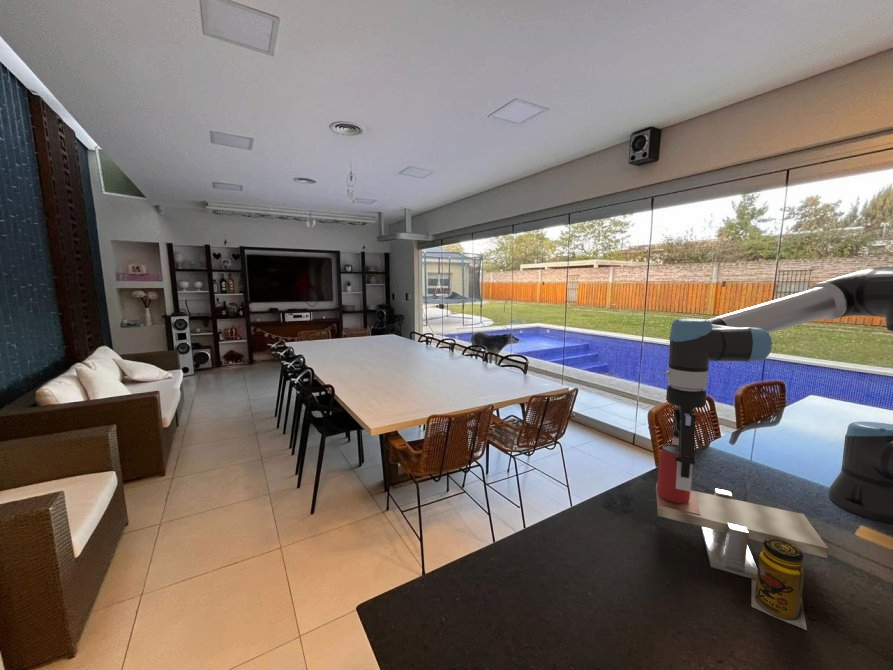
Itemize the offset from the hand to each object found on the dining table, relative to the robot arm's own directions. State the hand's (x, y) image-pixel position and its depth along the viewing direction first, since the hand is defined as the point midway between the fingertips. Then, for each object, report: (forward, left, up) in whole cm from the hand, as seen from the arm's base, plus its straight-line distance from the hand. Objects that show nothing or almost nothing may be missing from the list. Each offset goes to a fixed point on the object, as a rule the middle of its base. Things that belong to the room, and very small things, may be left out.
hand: (680, 475), depth 85 cm
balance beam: (-10, 0, -7) cm, 12 cm away
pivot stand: (-10, 0, -15) cm, 18 cm away
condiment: (-15, +14, -15) cm, 25 cm away
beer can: (+1, 0, -6) cm, 6 cm away
